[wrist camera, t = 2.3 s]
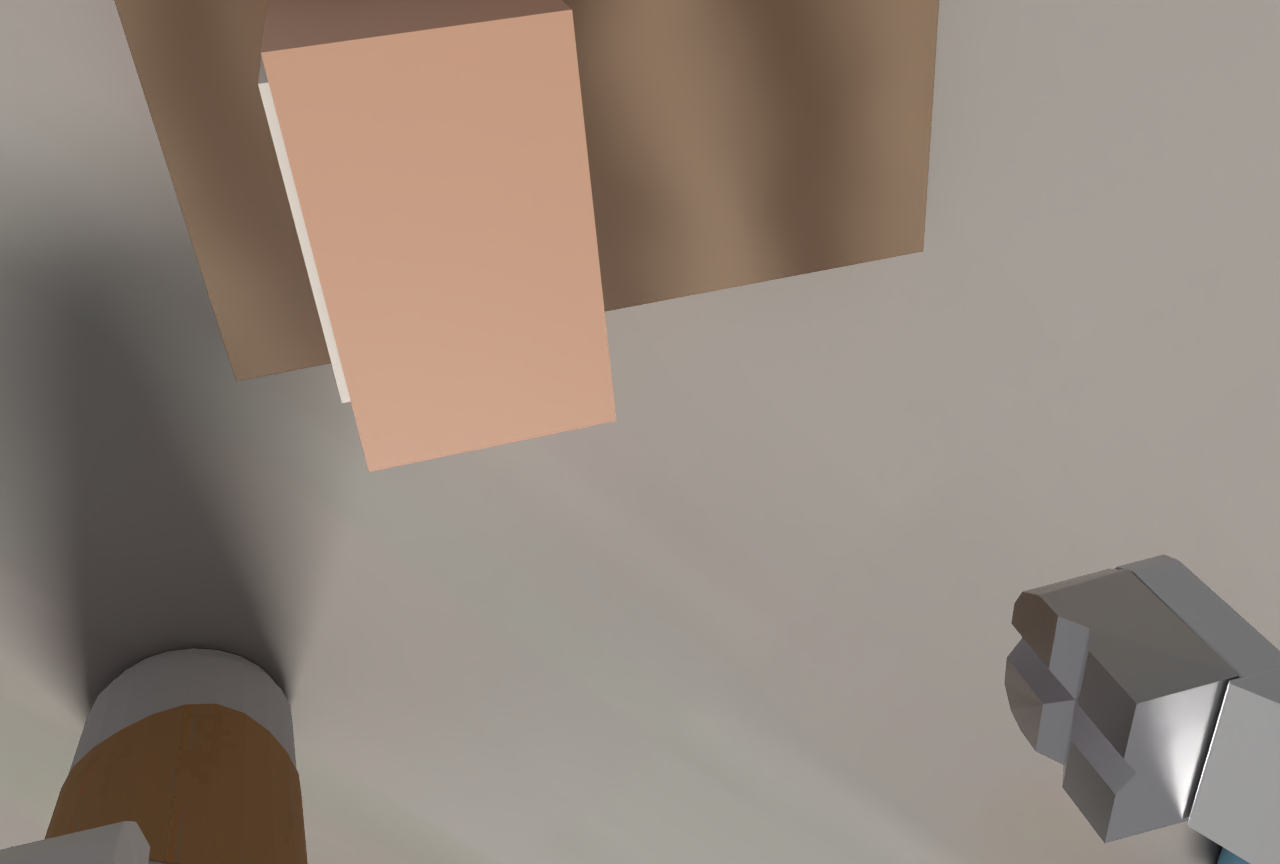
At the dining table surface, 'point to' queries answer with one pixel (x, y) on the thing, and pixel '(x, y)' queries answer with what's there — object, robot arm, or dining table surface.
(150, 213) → the dining table surface
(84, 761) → the coffee cup
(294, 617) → the dining table surface
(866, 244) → the shelf plank
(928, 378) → the dining table surface
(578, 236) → the terracotta carton
